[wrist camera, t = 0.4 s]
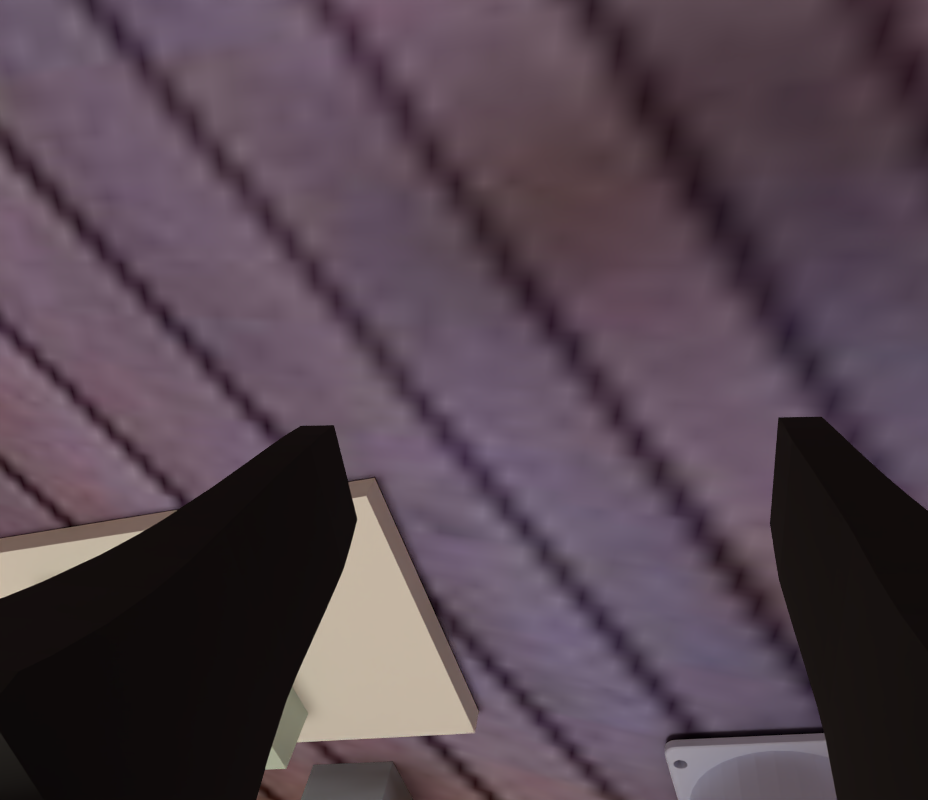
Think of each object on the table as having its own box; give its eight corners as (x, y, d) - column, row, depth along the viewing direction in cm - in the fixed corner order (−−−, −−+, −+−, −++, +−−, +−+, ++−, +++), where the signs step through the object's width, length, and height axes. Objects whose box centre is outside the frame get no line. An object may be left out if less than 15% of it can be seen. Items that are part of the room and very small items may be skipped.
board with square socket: (478, 711, 32) (464, 791, 29) (56, 737, 39) (10, 804, 36) (374, 477, 27) (343, 547, 24) (-96, 554, 33) (-166, 615, 30)
